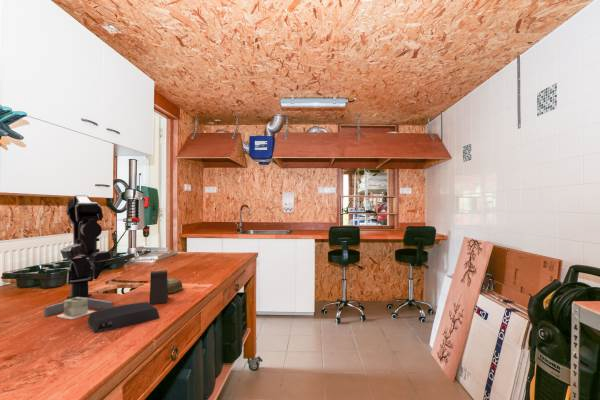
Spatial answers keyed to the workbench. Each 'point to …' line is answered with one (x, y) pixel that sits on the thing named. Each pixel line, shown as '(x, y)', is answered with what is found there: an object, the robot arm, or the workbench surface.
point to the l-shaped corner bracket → (60, 308)
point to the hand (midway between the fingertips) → (87, 277)
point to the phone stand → (158, 287)
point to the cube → (75, 306)
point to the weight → (174, 285)
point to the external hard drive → (121, 316)
